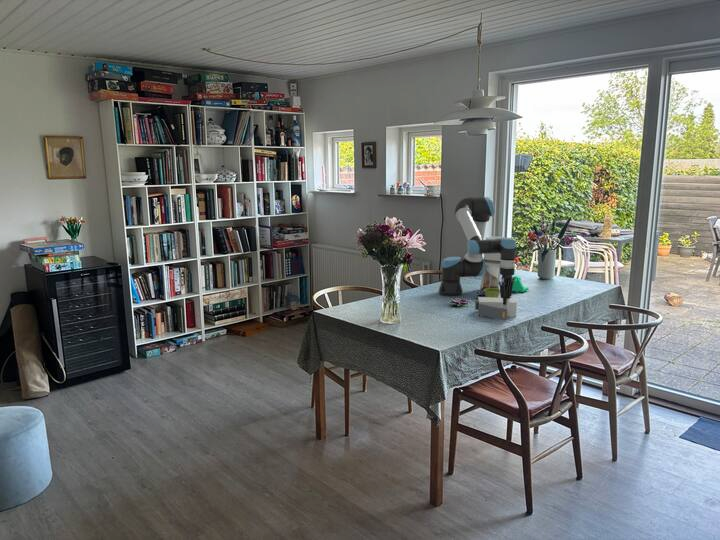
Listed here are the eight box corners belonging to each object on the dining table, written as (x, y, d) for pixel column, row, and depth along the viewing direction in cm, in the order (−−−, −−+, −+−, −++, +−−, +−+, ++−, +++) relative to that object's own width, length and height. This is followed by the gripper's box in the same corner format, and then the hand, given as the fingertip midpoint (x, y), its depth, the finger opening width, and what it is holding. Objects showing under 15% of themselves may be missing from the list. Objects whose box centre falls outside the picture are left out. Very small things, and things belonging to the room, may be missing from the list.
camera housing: (475, 315, 299) (476, 300, 297) (474, 310, 309) (475, 295, 307) (515, 316, 296) (516, 301, 294) (513, 311, 306) (514, 296, 304)
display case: (481, 291, 347) (487, 238, 340) (480, 287, 358) (486, 235, 350) (499, 293, 346) (505, 239, 338) (497, 289, 356) (504, 237, 348)
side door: (477, 314, 297) (477, 304, 296) (479, 313, 299) (479, 303, 298) (505, 320, 286) (506, 309, 285) (507, 320, 287) (507, 309, 286)
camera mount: (528, 291, 351) (529, 275, 349) (522, 293, 346) (523, 277, 344) (512, 288, 360) (513, 273, 358) (506, 290, 354) (506, 275, 352)
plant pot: (493, 301, 328) (494, 287, 326) (503, 305, 319) (503, 291, 317) (480, 303, 324) (481, 289, 323) (489, 306, 316) (490, 292, 314)
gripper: (507, 270, 279) (505, 314, 284) (519, 266, 288) (517, 308, 293) (494, 268, 284) (493, 311, 289) (507, 264, 294) (505, 306, 298)
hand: (505, 310), depth 291 cm, fingers closed
